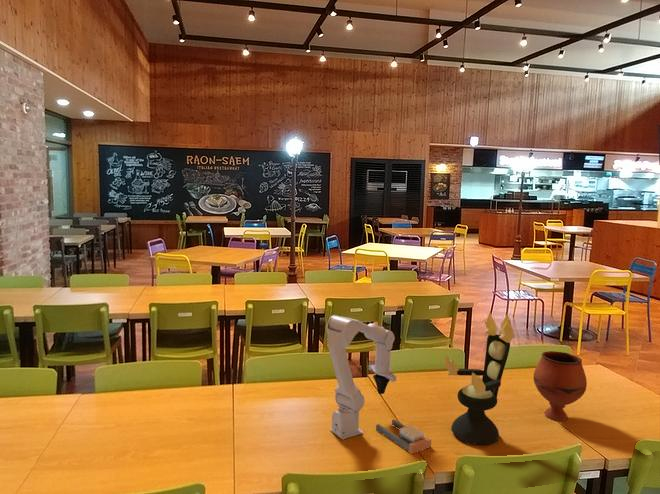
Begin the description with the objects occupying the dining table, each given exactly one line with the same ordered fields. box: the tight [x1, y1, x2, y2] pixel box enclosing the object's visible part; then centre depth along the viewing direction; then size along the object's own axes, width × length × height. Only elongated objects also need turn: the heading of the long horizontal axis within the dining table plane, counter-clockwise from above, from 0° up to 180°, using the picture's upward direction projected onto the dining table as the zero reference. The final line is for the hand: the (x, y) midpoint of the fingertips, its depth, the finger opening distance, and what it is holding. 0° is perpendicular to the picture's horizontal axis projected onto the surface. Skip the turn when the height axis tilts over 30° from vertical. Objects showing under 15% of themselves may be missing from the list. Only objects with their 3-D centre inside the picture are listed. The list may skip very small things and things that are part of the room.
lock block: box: [398, 425, 425, 444], centre depth 179 cm, size 5×7×5 cm
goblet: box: [533, 350, 588, 422], centre depth 203 cm, size 19×19×25 cm
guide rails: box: [375, 419, 432, 454], centre depth 183 cm, size 9×20×3 cm, turn 33°
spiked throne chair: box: [444, 312, 515, 446], centre depth 186 cm, size 19×22×45 cm
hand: (381, 393), depth 199 cm, fingers closed
